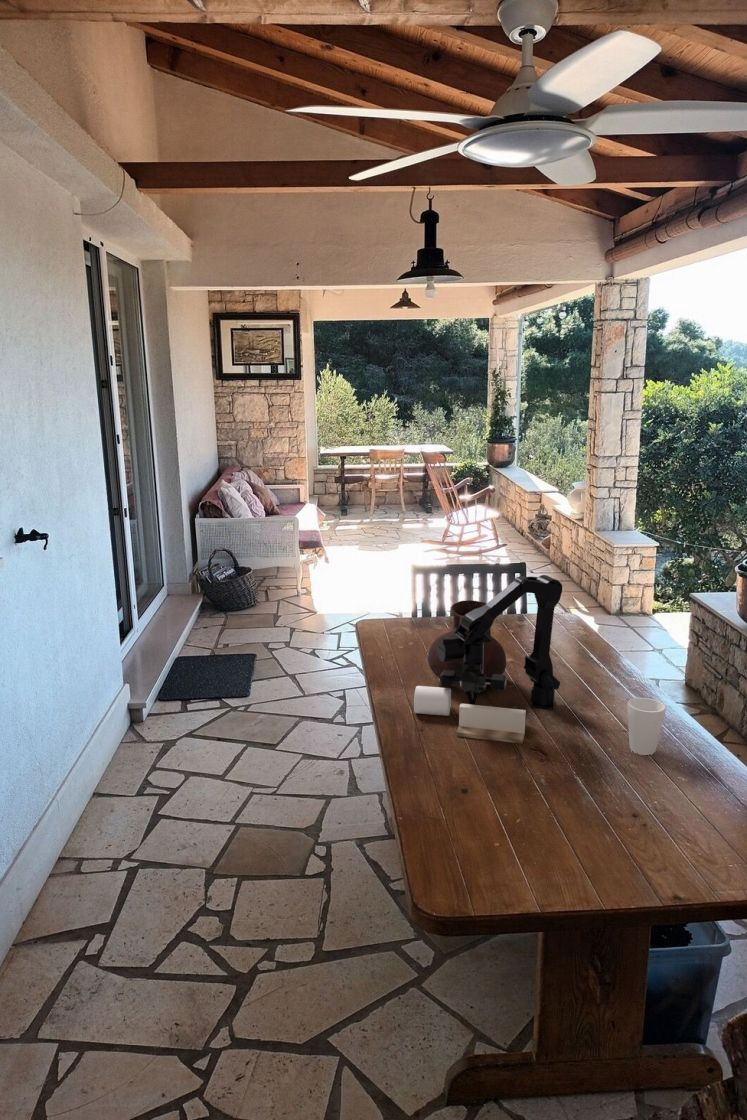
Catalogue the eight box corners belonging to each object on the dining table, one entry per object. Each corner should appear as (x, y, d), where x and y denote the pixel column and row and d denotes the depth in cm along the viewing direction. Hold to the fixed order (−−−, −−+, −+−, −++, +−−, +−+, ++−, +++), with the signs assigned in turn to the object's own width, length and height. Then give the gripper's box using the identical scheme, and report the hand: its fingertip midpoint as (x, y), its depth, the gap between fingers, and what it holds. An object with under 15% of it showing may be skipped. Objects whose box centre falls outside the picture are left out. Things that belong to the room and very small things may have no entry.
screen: (524, 733, 216) (525, 710, 214) (522, 743, 210) (523, 719, 208) (460, 726, 221) (460, 703, 219) (456, 736, 215) (457, 712, 213)
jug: (417, 691, 245) (418, 615, 240) (441, 664, 268) (442, 595, 262) (495, 703, 236) (498, 624, 231) (512, 674, 259) (515, 602, 253)
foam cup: (661, 745, 209) (665, 700, 206) (661, 761, 200) (666, 714, 197) (624, 740, 212) (627, 695, 209) (623, 755, 203) (626, 709, 201)
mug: (447, 720, 225) (448, 694, 223) (413, 717, 227) (414, 691, 225) (452, 703, 236) (452, 679, 234) (419, 701, 238) (420, 676, 236)
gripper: (436, 664, 219) (436, 715, 223) (503, 669, 214) (501, 722, 218) (443, 650, 230) (443, 700, 233) (507, 655, 225) (505, 706, 228)
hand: (472, 707), depth 228 cm, fingers closed
